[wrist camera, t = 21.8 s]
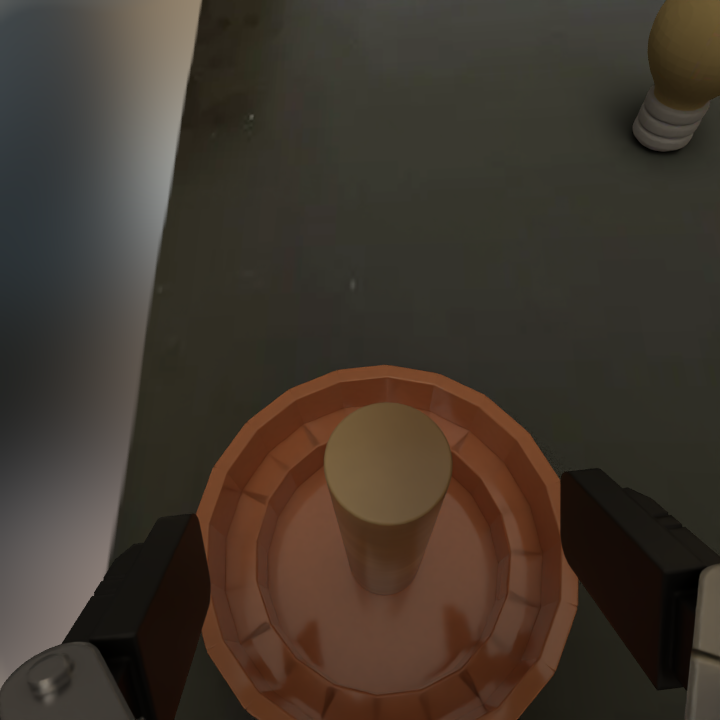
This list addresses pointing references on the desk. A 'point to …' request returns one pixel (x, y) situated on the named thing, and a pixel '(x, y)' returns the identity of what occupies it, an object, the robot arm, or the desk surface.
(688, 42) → the light bulb
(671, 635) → the robot arm
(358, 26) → the desk surface
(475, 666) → the bowl
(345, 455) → the stick
